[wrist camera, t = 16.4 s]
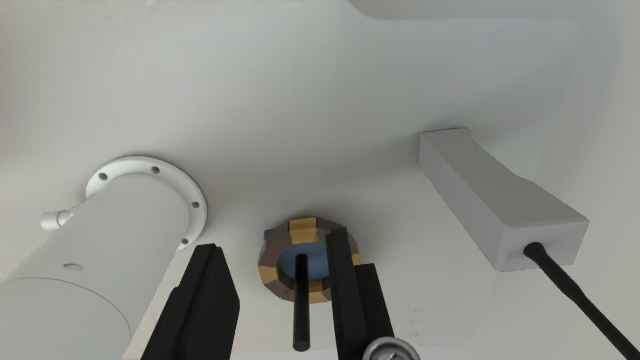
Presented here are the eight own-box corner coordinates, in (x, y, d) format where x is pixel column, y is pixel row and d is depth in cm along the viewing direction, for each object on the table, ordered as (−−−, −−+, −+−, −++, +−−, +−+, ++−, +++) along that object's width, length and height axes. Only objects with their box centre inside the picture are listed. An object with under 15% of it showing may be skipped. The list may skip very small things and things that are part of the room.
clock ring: (271, 296, 43) (269, 308, 41) (251, 224, 37) (249, 235, 35) (360, 285, 43) (362, 297, 41) (354, 212, 37) (356, 222, 35)
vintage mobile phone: (461, 158, 36) (716, 404, 14) (416, 163, 36) (600, 416, 14) (465, 126, 34) (767, 351, 12) (418, 131, 34) (633, 365, 12)
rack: (276, 277, 43) (266, 376, 31) (264, 230, 39) (249, 323, 28) (335, 270, 43) (347, 367, 31) (329, 222, 39) (341, 312, 28)
